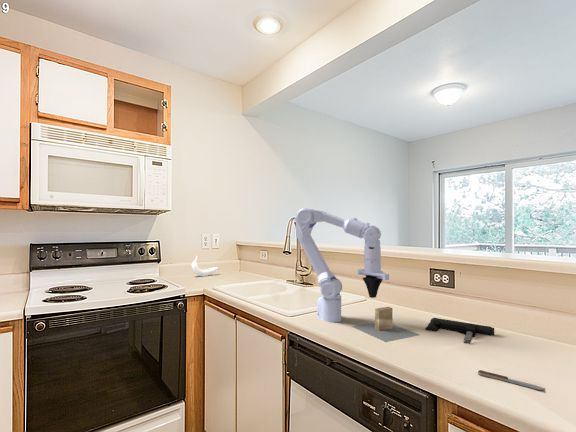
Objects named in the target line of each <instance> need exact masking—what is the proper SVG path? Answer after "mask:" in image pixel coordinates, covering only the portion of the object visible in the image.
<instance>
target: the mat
mask: <svg viewBox="0 0 576 432" xmlns="http://www.w3.org/2000/svg"><path fill="white" fill-rule="evenodd" d="M351 328H353V329H356V330H358V331H360V332H363V333H364V334H367V335H370V336H371V337H373V338H376V339H377V340H380V341H383V342H384V343H387V342H393V341H397V340H402V339H407V338H412V337H417V336H421V334H419V333H416V332H415V331H411V330H409V329H406V328H403V327H401V326H398V325H396V324H394V323H392V329H386V330H381V331H378V330H376V329H375V321H374V322H368V323H365V324H364V323H363V324H358V325H357V324H356V325H352V326H351Z"/></svg>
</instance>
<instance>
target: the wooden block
mask: <svg viewBox="0 0 576 432" xmlns="http://www.w3.org/2000/svg"><path fill="white" fill-rule="evenodd" d="M374 322H375V329H376V330H378V331H381V330H386V329H392V324H393V307H390V306H385V307H377V308H374Z"/></svg>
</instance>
